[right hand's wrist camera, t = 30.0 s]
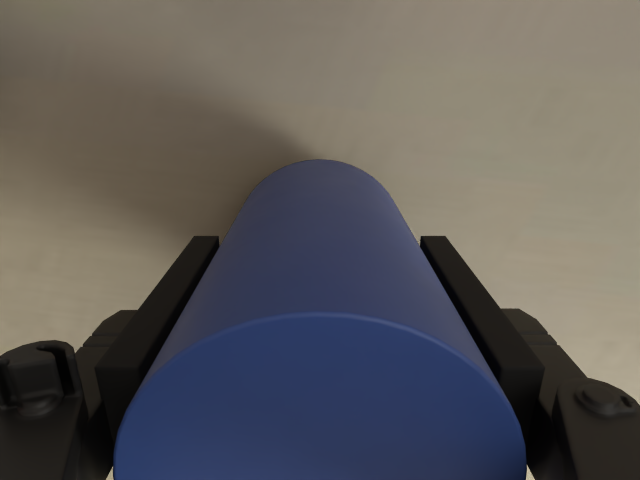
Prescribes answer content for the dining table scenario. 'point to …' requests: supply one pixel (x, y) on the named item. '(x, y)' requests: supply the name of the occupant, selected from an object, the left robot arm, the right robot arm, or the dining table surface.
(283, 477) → the canister
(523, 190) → the dining table surface
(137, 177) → the dining table surface
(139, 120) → the dining table surface
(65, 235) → the dining table surface
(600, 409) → the right robot arm
